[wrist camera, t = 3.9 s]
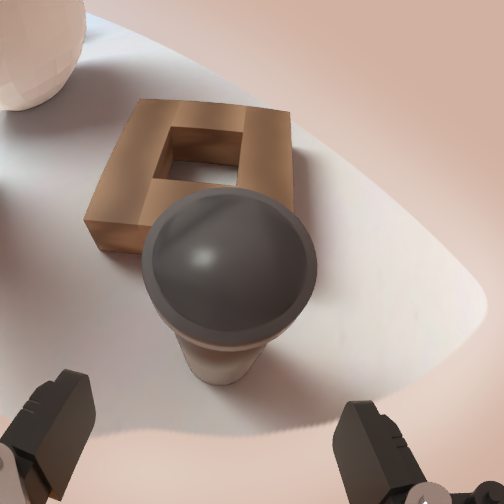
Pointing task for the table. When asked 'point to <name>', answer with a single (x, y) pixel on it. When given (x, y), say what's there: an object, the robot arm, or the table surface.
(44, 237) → the table surface
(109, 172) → the socket block
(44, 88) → the white handled vase
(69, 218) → the table surface
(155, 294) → the plug
